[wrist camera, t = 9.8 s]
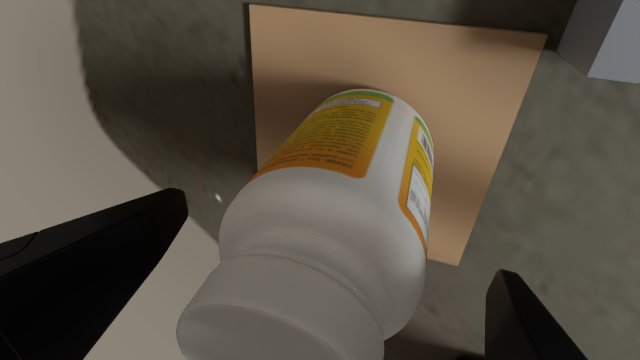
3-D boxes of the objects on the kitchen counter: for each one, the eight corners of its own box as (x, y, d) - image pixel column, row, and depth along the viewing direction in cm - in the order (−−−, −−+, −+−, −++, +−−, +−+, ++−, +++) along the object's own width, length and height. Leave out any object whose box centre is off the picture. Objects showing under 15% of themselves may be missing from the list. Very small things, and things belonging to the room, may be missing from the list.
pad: (457, 260, 16) (457, 266, 16) (263, 211, 18) (260, 216, 18) (545, 33, 11) (547, 35, 10) (254, 3, 13) (249, 4, 13)
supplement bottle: (284, 155, 16) (119, 348, 8) (349, 55, 12) (185, 210, 5) (378, 223, 16) (311, 473, 8) (465, 143, 13) (493, 424, 5)
